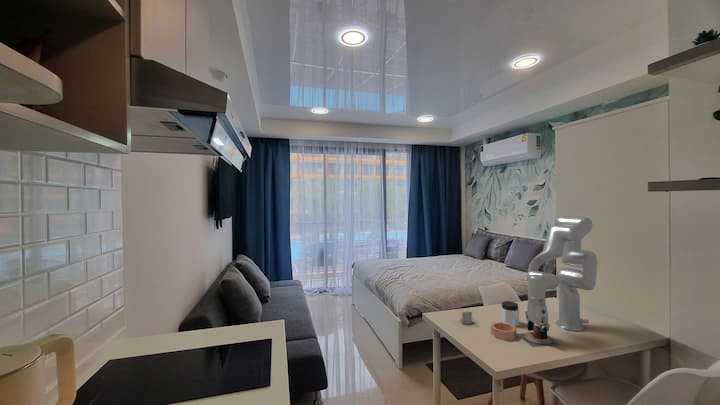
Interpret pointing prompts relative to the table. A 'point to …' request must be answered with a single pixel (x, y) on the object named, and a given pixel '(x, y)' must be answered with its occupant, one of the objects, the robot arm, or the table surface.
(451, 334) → the table surface
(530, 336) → the lid
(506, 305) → the jar
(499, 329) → the bowl
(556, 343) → the mat
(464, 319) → the architectural model
